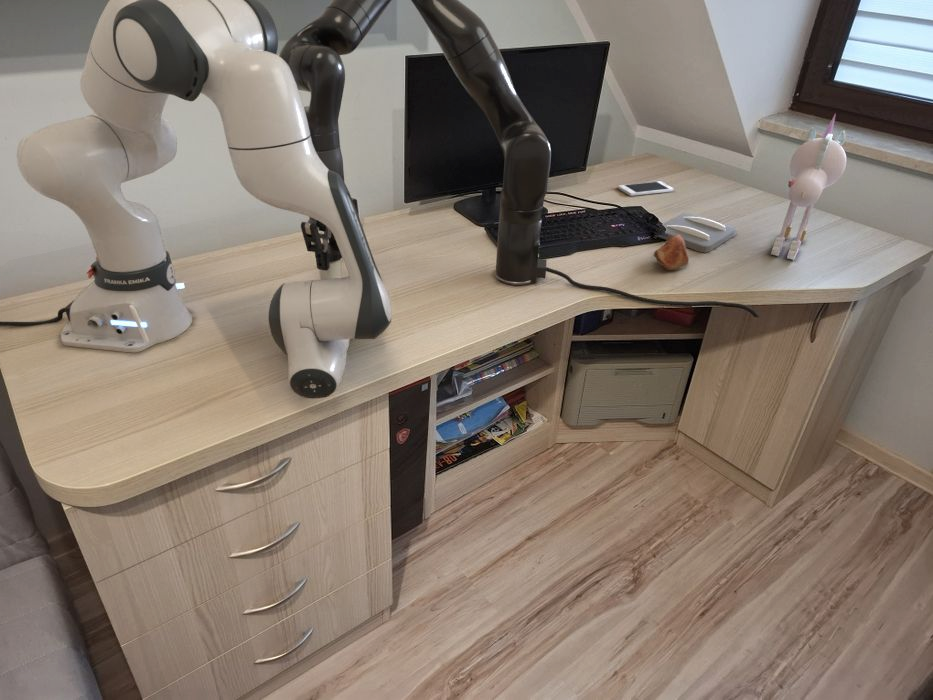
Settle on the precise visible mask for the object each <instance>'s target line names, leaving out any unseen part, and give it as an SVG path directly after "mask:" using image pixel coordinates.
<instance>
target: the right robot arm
mask: <svg viewBox="0 0 933 700" xmlns="http://www.w3.org/2000/svg"><path fill="white" fill-rule="evenodd" d="M410 1H411V3H412V4H413V5H414V8H415V9H416V10H417V11H418V14H419V15H420V16H421V18H422V20H423V22H424V23H425V25H426V27H427V28H428V30H429V31H430V33H431V35H432V36H433V38H434V40H435V41H436V43H437V44H438V46H439V48H440V50H441V52H442V54H443V55H444V57H445V59H446V60H447V62H448V64H449V66H450V67H451V69H452V72H453V73H454V74H455V76H456V77H457V80H458V81H459V82H460V84H461V85H462V86H463V88H464V89H465V91H466V92H467V94H468V95H470V97H471V98H472V99H473V101H474V102H475V103H476V104H477V105H478V107H479V108H480V109H481V110H482V111H483V113H484V114H485V116H486V118H487V120H488V121H489V123H490V125H491V127H492V130H493V132H494V133H495V136H496V138H497V141H498V142H499V145H500V148H501V151H502V155H503V157H504V164H503V165H504V166H503V179H502V188H501V190H500V196H499V197H500V198H499V211H498V228H497V244H496V260H495V270H494V277H495V278H496V280H498V281H499V282H502V283H503V284H508V285H510V286H525V285H530V284H537V279H546V276H547V275H546V274H547V272H548V273H551V274H554V275H556V276H559V277H561V278H563V279H565V280H566V281H567V282H569V284H570V285H573V286H574V287H577V288H580V289H585V290H590V291H591V290H592V291H602V292H603V291H604V292H608V293H612V294H616V295H619V296H622V297H625V298H629V299H631V300H634V301H639V302H642V303H648V304H654V305H660V306H661V305H663V306H678V307H680V306H681V307H697V306H698V307H699V306H715V307H717V306H718V307H726V308H737V309H742V310H745V311H747V312H748V313H750V314H751V315H752V316H753V317H754V318H760V316H759V314H758V313H757V311H756V310H755V309H753V308H752V307H750V306H749V305H746V304H742V303H737V302H724V301H716V300H702V301H700V300H699V301H677V300H676V301H675V300H662V299H654V298H648V297H643V296H639V295H635V294H631V293H629V292H626V291H622V290H619V289H616V288H612V287H607V286H601V285H591V284H590V285H589V284H584V283H580V282H577V281H576V280H573V278H571V277H570V276H569V275H568V274H566V273H564V272H562V271H560V270H557V269H553V268H550V267H548V266H547V265H548V264H547V261H548V260H547V259H542V258H539V257H540V246H541V244H540V243H541V231H542V222H543V221H542V220H543V213H544V212H543V211H544V201H545V197H546V195H547V192H548V185H549V180H550V179H549V178H550V170H551V162H552V161H551V159H552V149H551V143H550V142H549V139H548V138H547V136H546V134H545V133H544V131H543V130H542V128H541V127H540V126H539V125H538V124H537V122H536V121H535V119H534V118H533V116H532V115H531V114H530V112H529V111H528V110H527V108H526V106H525V105H524V103H523V102H522V100H521V98H520V96H519V95H518V93H517V91H516V88H515V86H514V83H513V80H512V78H511V74H510V72H509V69H508V67H507V65H506V62H505V59H504V58H503V56H502V53H501V51H500V49H499V47H498V45H497V43H496V41H495V39H494V38H493V35H492V33H491V31H490V30H489V29H488V27H487V25H486V24H485V22H484V21H483V20H482V18H481V17H480V16H478V15H477V14H476V13H475V11H473V10H472V9H471V8H469V7H468V6H467V5H465V3H463V2H462V1H460V0H410ZM391 2H392V0H331V1H330V3H328V5H327V6H326V8H325V9H324V10H323V11H322V13H321V15H320V16H318V17H317V18H316V19H314V20H312V21H311V22H309V23H307V25H305V26H304V27H302V28H301V29H300V30H299V31H297V32H296V33H294V34H293V35H292V36H291V37H290V38H289V39H288V40H287V41H286V42H285V43H284V45H283V46H282V48H281V50H280V52H279V55H278V56H279V57H281V58H282V59H283V60H284V61H285V62H286V63H287V64H288V66H289V67H290V69H291V72H292V74H293V77H294V79H295V82H296V84H297V87H298V90H299V91H302V92H307V93H310V99H309V105H307V106H304V109H305V113H306V117H307V121H308V125H309V130H310V135H311V139H312V143H313V146H314V148H315V151H316V153H317V155H318V156H319V158H320V160H321V161H322V162H323V164H324V165H325V166H326V167H327V168H328V169H329V170H331V171H333V172H335V173H338V174H339V175H340V176H341V178H342V179H343V181H344V182H345V173H344V160H343V154H342V149H341V140H340V128H339V127H340V126H339V117H340V111H341V106H342V101H343V96H344V95H343V94H344V89H345V83H346V69H345V65H344V61H343V60H342V59H343V58H342V57H341V56H346V55H350V54H352V53H353V52H354V51H355V50H356V49H357V48H358V47H359V45H361V43H362V41H363V40H364V38H365V37H366V36H367V34H368V33H369V32H370V31H371V29H372V27H373V26H374V25H375V24H376V22H377V21H378V19H379V18H380V17H381V15H382V14H383V13H384V12H385V10H386V9H387V7H388V6H389V5H390V3H391ZM308 218H309V219H308V220H307V221H302V222H301V223H300V230H301V233H302V236H303V240H304V243H305V247H306V250H307V252H312V253H314V256H315V255H316V258H315V263H316V269H318V270H325V271H327V270H328V269H329V268H330V266H329V256H328V251H327V249H328V243H329V242H331V243H337V242H336V240H335V237H334V235H333V233H332V232H331V230H330V229H329V228H328V227H327V226H326V225H324V224H323V223H321V222H320V221H318V220H316V219H313V218H311V217H309V216H308ZM323 232H325V233H323ZM321 239H322V240H321ZM322 243H323V244H322Z"/></svg>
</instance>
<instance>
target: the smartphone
mask: <svg viewBox="0 0 933 700" xmlns="http://www.w3.org/2000/svg"><path fill="white" fill-rule="evenodd" d="M617 189H618V190H620V191H621V192H623V193H625V194H627V195H628V196H630V197H633V196H643V195H650V194H651V195H652V194H658V193H659V194H660V193H668V192H673V191H674V187H671V186H670V185H668V184H666V183H665V182H663V181H660V180H658V181H647V182H639V183H638V182H637V183H631V184H630V183H629V184H628V183H627V184H620V185H618V187H617Z"/></svg>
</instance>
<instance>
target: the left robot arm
mask: <svg viewBox="0 0 933 700" xmlns="http://www.w3.org/2000/svg"><path fill="white" fill-rule="evenodd" d="M278 37H279V36H278V30H277V26H276V23H275V21H274V19H273V17H272V15H271V13H270V12H269V10H268V8H266V6H265V5H264V4H263V3H262V2H261V1H259V0H109V1H108V2H107V3H106V5H105V7H104V9H103V11H102V12H101V15H100V17H99V19H98V21H97V23H96V26H95V28H94V31H93V35H92V37H91V40H90V44H89V48H88V50H87V54H86V59H85V62H84V65H83V68H82V69H83V70H82V73H81V77H80V81H79V85H80V91H81V94H82V96H83V98H84V101H85V102H86V104H87V105H88V107H89V108H90V109H91V110H92V111H93V113H91V114H89V115H86V116H82V117H78V118H74V119H70V120H66V121H61V122H57V123H52V124H49V125H46V126H44V127H42V128H40V129H37V130H36V131H34V132H32V133H30V134H28V135H26V136H24V137H22V138H21V139H20V140H19V142H18V145H17V148H16V164H17V167H18V170H19V172H20V174H21V176H22V178H23V179H24V180H25V182H26V183H27V184H28V185H29V186H30V187H31V188H32V189H33V190H35V191H36V192H37V193H38V194H40V195H42V196H43V197H45V198H48V199H51V200H53V201H57V202H58V203H61V204H62V205H64V206H66V207H67V208H69V209H70V210H71V211H72V212H73V213H74V214H75V215H77V217H78V218H79V219H80V221H81V223H82V224H83V225H84V227H85V229H86V231H87V234H88V236H89V239H90V241H91V243H92V246H93V250H94V252H95V254H96V258H95V261H94V262H92V264H90V268H89V269H88V271H87V272H86V275H88V276H87V279H91V278H92V277H93V278H94V280H93V281H91V282H90V283H89V284H88V285H87V286H86V287H84V289H82V291H80V293H79V294H78V295H77V296H76V297H75V298H74V299H73V300H72V301H71V302H70V303H68V304H67V305H66V306H65V307H63V308H60V309H59V310H58V311H57V316H55V317H54V318H51V319H48V320H43V321H0V327H35V326H40V325H47V324H48V325H49V324H54V323H58V322H60V321H61V320H63V317H64V313H66V317H67V320H68V321H67V322H66V324H65V326H64V327H63V328H62V330H61V331H60V332H61V333H60V340H61V344H62V346H66V347H73V348H84V349H85V348H86V349H93V350H102V351H103V350H105V351H112V352H124V353H134V354H135V353H140V352H143V351H144V350H147V349H148V348H151V347H152V346H154V345H157V344H160V343H164V342H167V341H169V340H172V339H174V338H176V337H178V336H180V335H181V334H183V333H184V332H185V331H186V330H188V329H189V328H190V326H191V325H192V322H193V316H192V314H191V313H190V311H189V309H188V307H187V306H186V305H185V302H184V301H183V299H182V296H181V294H180V291H179V289H185V283H184V282H180V283H179V282H178V283H176V282H177V281H176V273H175V272H176V271H175V268H174V266H173V263H172V259H171V255H170V253H169V252H168V251H167V250H166V245H165V241H164V238H163V234H162V229H161V226H160V222H159V218H158V217H157V215H156V214H155V213H154V211H153V210H151V209H150V207H147V206H146V205H145V204H142V203H140V202H136V201H132V200H128V199H126V197H125V196H124V194H123V191H122V184H124V183H126V182H129V181H132V180H135V179H138V178H141V177H144V176H147V175H150V174H151V175H152V174H153V173H154V172H156V171H159V170H160V169H162V168H163V167H165V166H166V165H167V164H169V163H170V162H172V161H173V160H174V159H175V158H176V155H177V153H178V138H177V134H176V131H175V129H174V127H173V125H172V124H171V122H170V121H169V120H168V119H167V117H166V116H164V115H163V112H164V108H165V106H166V102H167V100H168V97H169V95H171V96H174V97H176V98H179V99H181V100H184V101H187V102H194V101H196V99H198V97H199V96H200V94H202V95H204V96H206V97H207V98H208V99H209V100H210V101H211V102H212V103H213V104H214V105H215V107H216V109H217V110H218V112H219V116H220V119H221V123H222V126H223V131H224V137H225V141H226V145H227V150H228V153H229V157H230V160H231V163H232V167H233V170H234V173H235V175H236V178H237V179H238V181H239V184H240V185H241V186H242V188H244V189H245V191H246V192H248V194H250V195H251V196H252V197H254V198H255V199H256V200H259V201H260V202H262V203H263V204H267V205H268V206H271V207H273V208H276V209H280V210H284V211H289V212H293V213H297V214H299V215H303V216H306V217H308V218H309V217H311V218H313V219H316V220H318V221H320V222H321V223H323V224H324V225H326V226H327V227H328V228H329V229H330V230H331V232H332V233H333V235H334V237H335V240H336V242H337V245H338V248H339V250H340V253H341V255H342V258H341V259H342V260H343V263H344V266H345V268H346V271H347V274H348V275H347V276H345V277H344V276H343V278H334V279H324V280H320V279H316V280H315V279H309V280H298V281H291V282H283V283H282V284H281V285H280V286H279V287H278V288H277V289H276V291H275V292H274V294H273V295H272V298H271V300H270V303H269V308H268V326H269V331H270V334H271V337H272V339H273V341H274V343H275V344H276V345H277V347H278V348H279V349H280V350H281V351H282V353H284V354H285V355H286V356H287V380H288V385H289V387H290V389H291V391H293V392H294V393H295V394H296V395H298V396H300V397H302V398H305V399H311V400H313V399H315V400H316V399H324V398H327V397H330V396H331V395H333V394H334V393H335V392H336V391H337V390H338V388H339V387H340V385H341V383H342V380H343V377H344V373H345V370H346V365H347V359H348V354H347V352H348V349H349V347H350V341H351V340H353V339H354V340H375V339H377V338H378V337H380V336H381V335H382V334H383V333H384V332H385V331H386V330H387V329H388V327H389V326H390V325H391V323H392V316H393V306H392V301H391V296H390V293H389V291H388V290H387V287H386V286H385V284H384V281H383V279H382V276H381V274H380V272H379V270H378V267H377V264H376V262H375V259H374V256H373V253H372V250H371V248H370V245H369V241H368V238H367V236H366V233H365V231H364V228H363V224H362V222H361V219H360V217H359V214H358V211H357V208H356V206H355V204H354V200H353V198H352V195H351V193H350V191H349V189H348V186H347V185H346V183H345V180H344V181H343V179H342V178H341V176H340V175H339V174H338V173H335V172H333V171H331V170H329V169H328V168H327V167H326V166H325V165H324V164H323V162H322V161H321V160H320V158H319V156H318V155H317V153H316V151H315V148H314V146H313V143H312V139H311V135H310V130H309V125H308V121H307V117H306V113H305V109H304V107H305V106H304V103H303V99H302V96H301V92H300V90H298V87H297V84H296V82H295V79H294V77H293V74H292V72H291V69H290V67H289V66H288V64H287V63H286V62H285V61H284V60H283V59H282V58H281V57H279V55H278V54H277V52H278V48H279V38H278Z"/></svg>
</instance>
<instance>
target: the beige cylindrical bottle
mask: <svg viewBox="0 0 933 700" xmlns="http://www.w3.org/2000/svg"><path fill="white" fill-rule="evenodd" d="M329 266H330V268H329V269H328V270H327V271H325V270H319V269H318V270H319V280H324V279H334V278H344V276H343V265H342V258H341V259H340V260H338V261H334V262H329Z"/></svg>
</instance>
